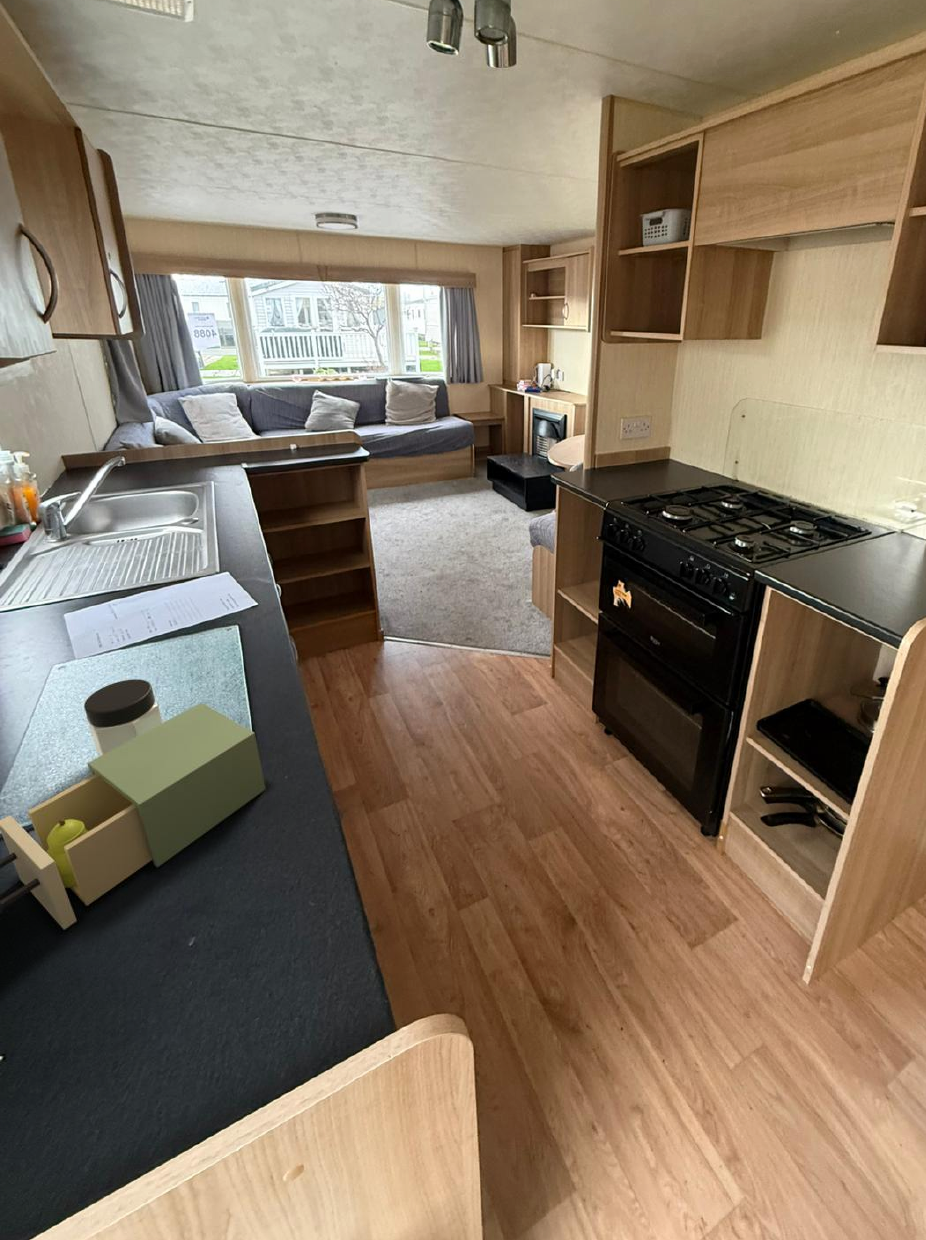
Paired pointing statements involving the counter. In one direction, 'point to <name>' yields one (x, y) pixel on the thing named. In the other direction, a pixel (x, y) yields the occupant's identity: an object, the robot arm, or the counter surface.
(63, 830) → the pear
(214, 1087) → the counter surface
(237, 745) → the cabinet
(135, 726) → the jar
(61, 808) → the drawer
